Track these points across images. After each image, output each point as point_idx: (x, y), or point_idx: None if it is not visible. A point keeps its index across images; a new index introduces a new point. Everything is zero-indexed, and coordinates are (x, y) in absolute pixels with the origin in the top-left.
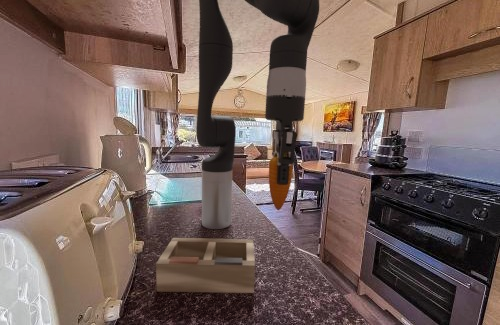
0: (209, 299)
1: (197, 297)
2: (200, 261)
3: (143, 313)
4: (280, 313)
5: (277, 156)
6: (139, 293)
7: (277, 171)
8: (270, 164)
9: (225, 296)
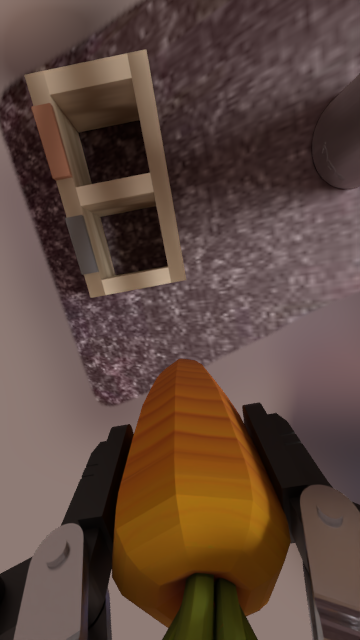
0: None
1: None
2: (67, 183)
3: (12, 124)
4: (81, 328)
5: (79, 608)
6: None
7: (99, 477)
8: (158, 465)
9: None
